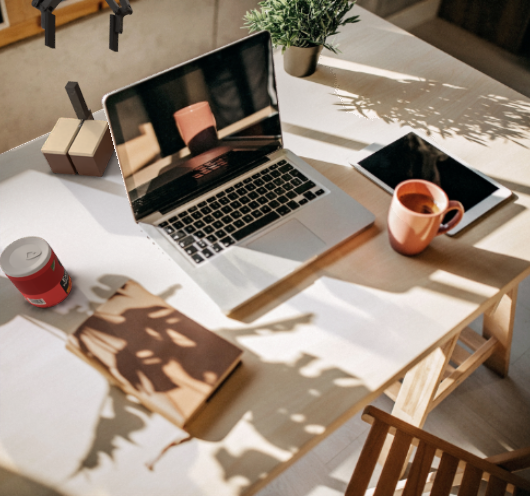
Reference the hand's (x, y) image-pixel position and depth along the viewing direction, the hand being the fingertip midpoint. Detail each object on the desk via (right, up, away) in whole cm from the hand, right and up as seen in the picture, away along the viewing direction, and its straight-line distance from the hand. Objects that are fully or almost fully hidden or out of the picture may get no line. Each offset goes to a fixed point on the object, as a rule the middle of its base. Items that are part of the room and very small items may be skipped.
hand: (81, 48), depth 100 cm
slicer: (-1, -16, +9) cm, 19 cm away
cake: (-1, -21, +6) cm, 22 cm away
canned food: (-1, -48, -13) cm, 50 cm away
